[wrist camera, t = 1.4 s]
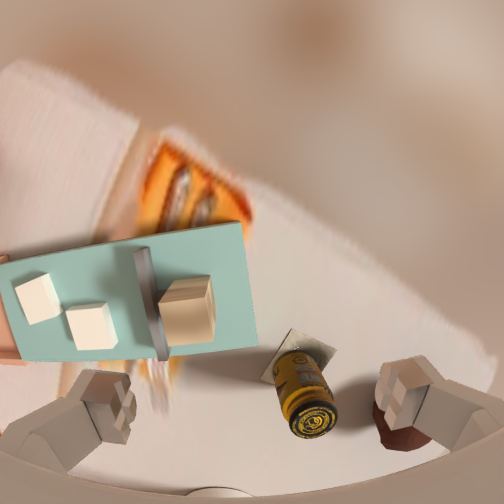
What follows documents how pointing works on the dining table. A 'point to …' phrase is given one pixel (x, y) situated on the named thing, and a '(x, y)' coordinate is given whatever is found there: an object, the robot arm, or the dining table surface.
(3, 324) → the tray
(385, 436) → the muffin
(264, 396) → the dining table surface
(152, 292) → the scraper
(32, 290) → the tile
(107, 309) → the tile
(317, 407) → the condiment
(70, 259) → the board
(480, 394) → the robot arm
